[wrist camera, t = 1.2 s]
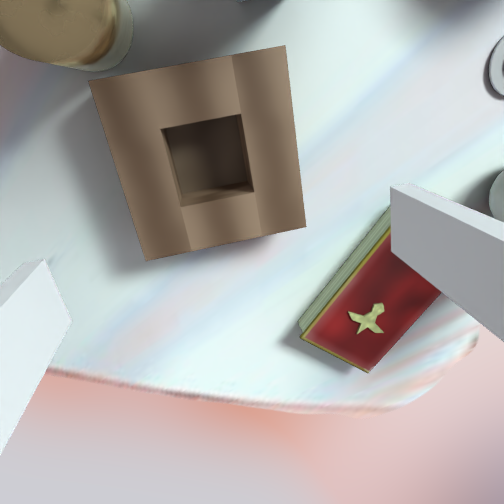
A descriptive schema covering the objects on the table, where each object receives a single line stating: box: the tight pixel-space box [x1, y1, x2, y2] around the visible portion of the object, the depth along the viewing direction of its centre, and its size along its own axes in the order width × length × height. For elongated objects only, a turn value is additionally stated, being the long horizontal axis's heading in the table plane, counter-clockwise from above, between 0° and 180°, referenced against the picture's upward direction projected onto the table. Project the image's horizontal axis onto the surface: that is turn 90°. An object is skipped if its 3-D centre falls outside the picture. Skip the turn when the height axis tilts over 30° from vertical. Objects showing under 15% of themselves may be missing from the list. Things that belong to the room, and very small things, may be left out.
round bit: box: [0, 0, 134, 72], centre depth 27 cm, size 8×8×12 cm
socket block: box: [88, 45, 306, 261], centre depth 36 cm, size 16×16×6 cm
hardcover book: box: [298, 206, 442, 373], centre depth 46 cm, size 12×21×4 cm, turn 146°
